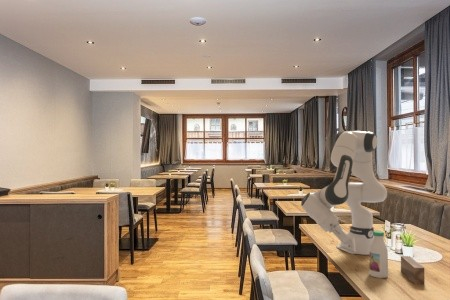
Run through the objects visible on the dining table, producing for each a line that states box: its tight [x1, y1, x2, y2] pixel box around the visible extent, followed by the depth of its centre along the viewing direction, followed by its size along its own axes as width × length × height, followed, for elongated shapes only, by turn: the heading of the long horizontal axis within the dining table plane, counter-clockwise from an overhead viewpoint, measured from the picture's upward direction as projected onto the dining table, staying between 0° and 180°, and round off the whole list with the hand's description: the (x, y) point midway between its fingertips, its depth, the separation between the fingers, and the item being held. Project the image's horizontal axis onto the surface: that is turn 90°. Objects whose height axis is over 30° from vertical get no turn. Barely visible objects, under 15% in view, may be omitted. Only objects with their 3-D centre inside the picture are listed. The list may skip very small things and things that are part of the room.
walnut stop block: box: [400, 255, 425, 285], centre depth 165 cm, size 4×18×7 cm, turn 171°
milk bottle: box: [368, 230, 389, 279], centre depth 168 cm, size 8×8×20 cm
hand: (351, 244), depth 169 cm, fingers closed
